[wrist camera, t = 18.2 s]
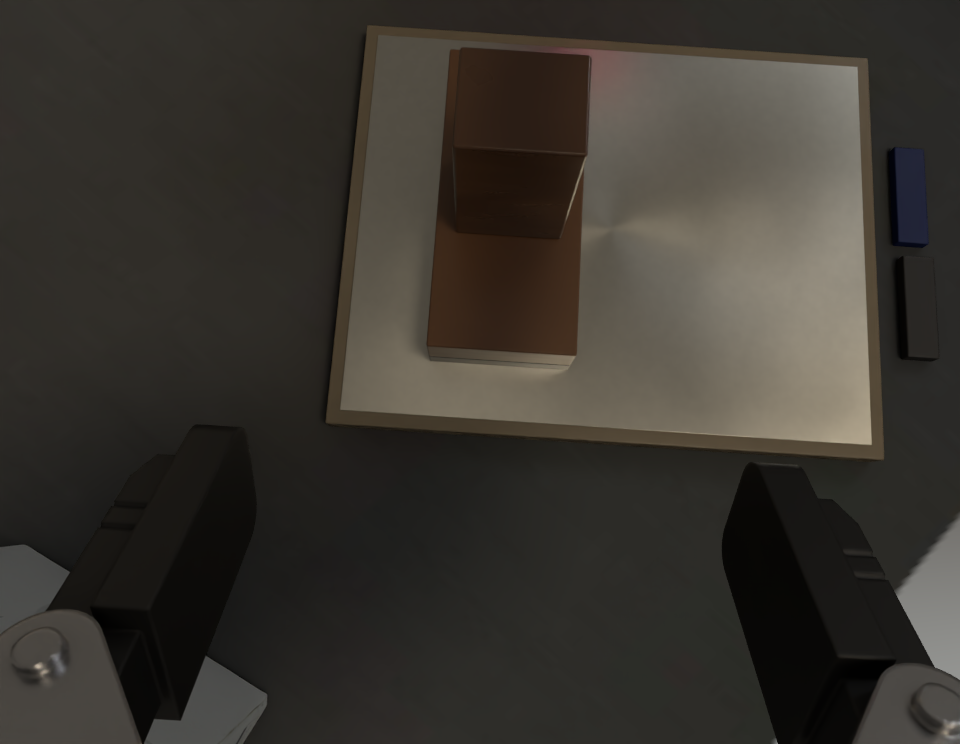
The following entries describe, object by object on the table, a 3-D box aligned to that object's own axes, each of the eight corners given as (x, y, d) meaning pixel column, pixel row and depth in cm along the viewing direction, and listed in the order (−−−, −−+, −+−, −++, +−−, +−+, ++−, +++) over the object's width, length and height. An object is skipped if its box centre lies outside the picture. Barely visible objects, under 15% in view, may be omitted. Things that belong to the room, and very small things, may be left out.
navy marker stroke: (929, 244, 29) (921, 248, 30) (924, 149, 30) (916, 154, 30) (898, 241, 29) (891, 246, 30) (894, 146, 30) (887, 152, 30)
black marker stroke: (940, 359, 28) (932, 361, 29) (934, 257, 29) (926, 261, 29) (908, 356, 28) (900, 359, 29) (903, 255, 29) (895, 259, 29)
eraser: (429, 361, 27) (412, 291, 19) (451, 86, 29) (444, -84, 21) (567, 370, 27) (610, 304, 19) (579, 94, 29) (621, -72, 21)
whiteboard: (329, 426, 28) (324, 422, 27) (370, 38, 31) (366, 22, 30) (871, 462, 28) (886, 460, 27) (856, 71, 31) (869, 56, 30)
